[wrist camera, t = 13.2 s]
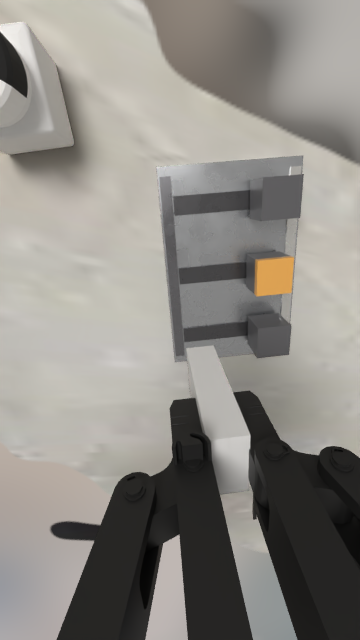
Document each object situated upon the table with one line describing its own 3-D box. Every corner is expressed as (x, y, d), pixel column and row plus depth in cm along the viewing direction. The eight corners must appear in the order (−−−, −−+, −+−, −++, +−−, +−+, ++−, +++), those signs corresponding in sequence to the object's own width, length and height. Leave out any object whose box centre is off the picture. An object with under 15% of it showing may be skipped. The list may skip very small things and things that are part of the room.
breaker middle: (246, 286, 36) (256, 296, 32) (246, 254, 35) (257, 260, 31) (277, 283, 36) (291, 293, 33) (279, 251, 35) (294, 257, 31)
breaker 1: (249, 218, 33) (261, 221, 29) (250, 179, 31) (263, 177, 28) (283, 215, 33) (300, 217, 30) (286, 177, 32) (303, 174, 28)
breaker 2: (247, 343, 39) (257, 358, 36) (247, 315, 38) (258, 328, 34) (276, 340, 39) (288, 354, 36) (277, 312, 38) (291, 324, 34)
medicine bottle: (-19, 70, 28) (-134, -15, 17) (55, 61, 28) (-9, -30, 17) (8, 155, 30) (-75, 130, 19) (75, 146, 31) (32, 116, 20)
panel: (174, 356, 41) (175, 362, 40) (156, 168, 32) (156, 166, 30) (283, 344, 42) (288, 350, 41) (297, 157, 33) (304, 155, 31)
